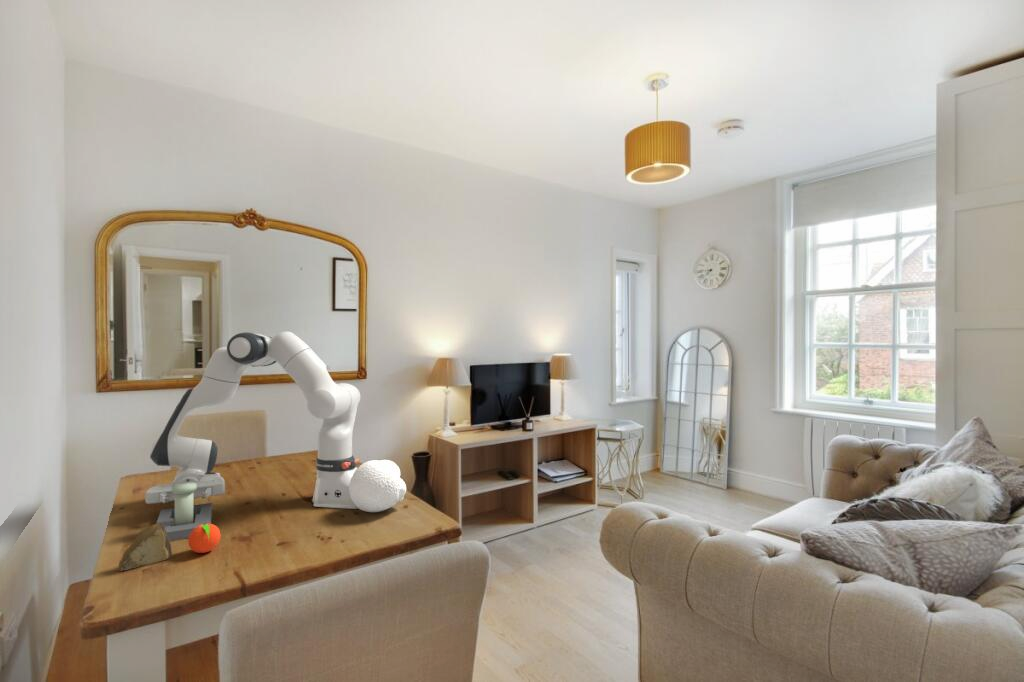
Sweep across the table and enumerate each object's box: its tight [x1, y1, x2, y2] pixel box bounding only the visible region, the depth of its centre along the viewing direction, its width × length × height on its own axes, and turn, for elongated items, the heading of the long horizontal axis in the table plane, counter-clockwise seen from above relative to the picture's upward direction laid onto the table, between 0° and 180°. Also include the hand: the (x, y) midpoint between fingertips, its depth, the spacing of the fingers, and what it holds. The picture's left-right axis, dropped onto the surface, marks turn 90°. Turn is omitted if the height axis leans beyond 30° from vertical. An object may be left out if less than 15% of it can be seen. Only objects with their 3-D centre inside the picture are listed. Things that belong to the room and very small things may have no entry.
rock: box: [118, 523, 173, 572], centre depth 115 cm, size 10×8×10 cm
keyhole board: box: [155, 502, 213, 542], centre depth 138 cm, size 22×13×2 cm, turn 31°
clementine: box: [187, 523, 222, 554], centre depth 120 cm, size 8×7×7 cm
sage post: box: [172, 483, 197, 526], centre depth 135 cm, size 6×6×12 cm
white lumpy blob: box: [349, 459, 407, 513], centre depth 152 cm, size 20×18×16 cm
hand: (185, 497), depth 141 cm, fingers open, 8 cm apart
